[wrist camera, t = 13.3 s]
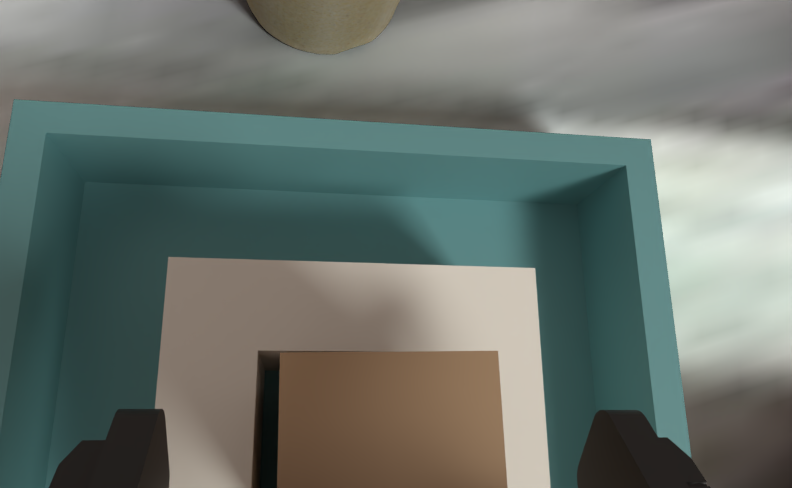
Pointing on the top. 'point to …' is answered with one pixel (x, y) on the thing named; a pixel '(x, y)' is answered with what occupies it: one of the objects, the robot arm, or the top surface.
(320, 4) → the flower pot
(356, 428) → the peg
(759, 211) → the top surface
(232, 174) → the socket box
